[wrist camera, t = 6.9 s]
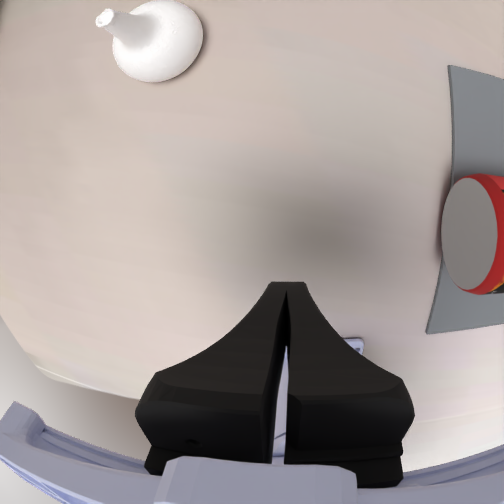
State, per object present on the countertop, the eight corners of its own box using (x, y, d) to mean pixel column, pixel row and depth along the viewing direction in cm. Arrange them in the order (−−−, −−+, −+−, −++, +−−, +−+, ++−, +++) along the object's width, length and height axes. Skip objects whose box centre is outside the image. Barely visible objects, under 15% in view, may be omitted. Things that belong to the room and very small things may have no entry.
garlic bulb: (197, -1, 16) (151, -55, 8) (217, 65, 18) (170, 23, 10) (123, 33, 17) (58, 2, 10) (137, 98, 19) (65, 82, 11)
